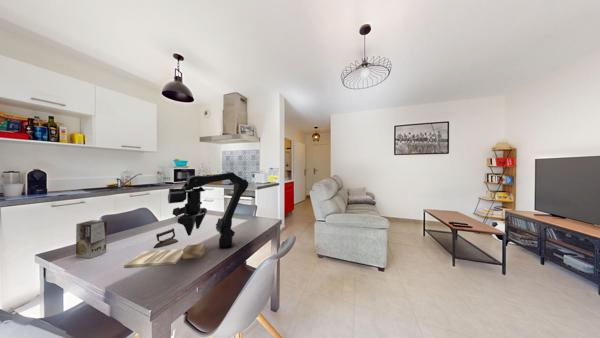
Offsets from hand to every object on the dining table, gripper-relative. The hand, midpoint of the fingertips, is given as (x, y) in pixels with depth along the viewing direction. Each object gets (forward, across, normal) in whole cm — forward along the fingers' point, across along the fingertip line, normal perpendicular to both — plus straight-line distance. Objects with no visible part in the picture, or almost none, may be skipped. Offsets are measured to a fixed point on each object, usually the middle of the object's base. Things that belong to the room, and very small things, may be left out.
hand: (193, 231), depth 87 cm
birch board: (+12, +1, -15) cm, 19 cm away
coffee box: (+12, -7, -50) cm, 51 cm away
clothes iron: (+12, -16, -22) cm, 29 cm away
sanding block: (+12, +1, +1) cm, 12 cm away
